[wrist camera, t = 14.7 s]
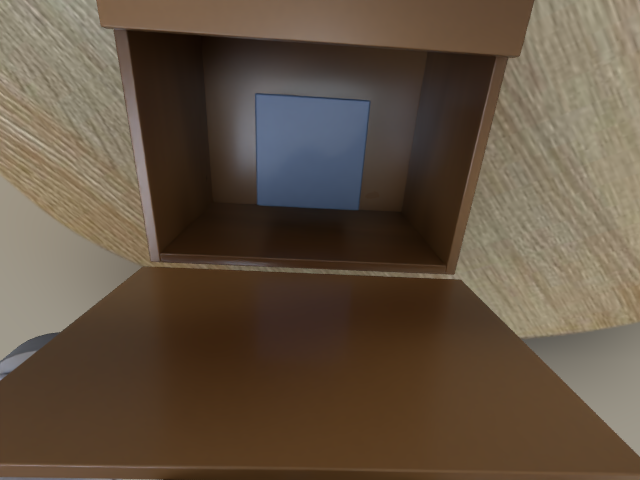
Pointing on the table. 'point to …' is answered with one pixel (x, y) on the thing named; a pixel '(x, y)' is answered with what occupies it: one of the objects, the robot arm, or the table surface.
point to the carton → (316, 81)
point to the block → (310, 151)
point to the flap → (297, 387)
